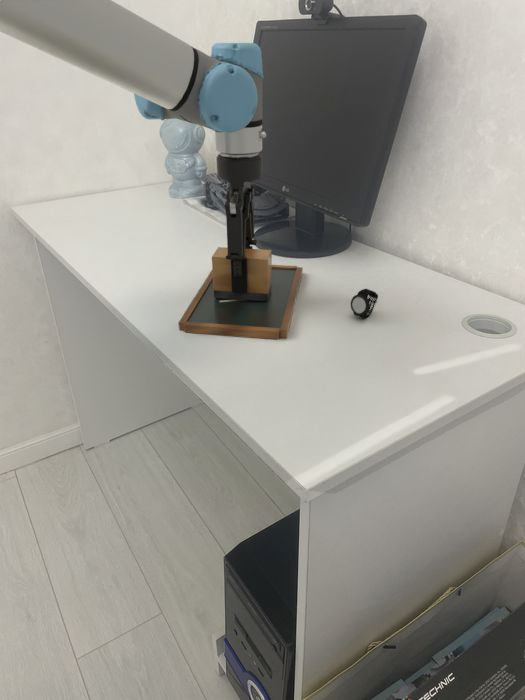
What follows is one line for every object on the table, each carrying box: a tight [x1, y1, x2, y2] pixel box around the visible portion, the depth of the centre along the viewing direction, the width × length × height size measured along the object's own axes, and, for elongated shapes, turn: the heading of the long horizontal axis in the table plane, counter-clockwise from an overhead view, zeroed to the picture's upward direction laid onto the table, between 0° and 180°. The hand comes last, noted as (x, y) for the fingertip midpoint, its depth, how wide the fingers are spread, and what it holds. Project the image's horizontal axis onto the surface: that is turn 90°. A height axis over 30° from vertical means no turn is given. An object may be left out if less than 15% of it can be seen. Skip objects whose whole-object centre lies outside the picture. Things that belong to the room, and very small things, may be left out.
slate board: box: [178, 264, 304, 340], centre depth 98 cm, size 18×28×2 cm, turn 171°
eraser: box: [211, 246, 273, 301], centre depth 94 cm, size 10×5×8 cm, turn 81°
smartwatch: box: [350, 288, 379, 319], centre depth 90 cm, size 4×5×5 cm
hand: (242, 285), depth 96 cm, fingers closed on eraser, 5 cm apart
